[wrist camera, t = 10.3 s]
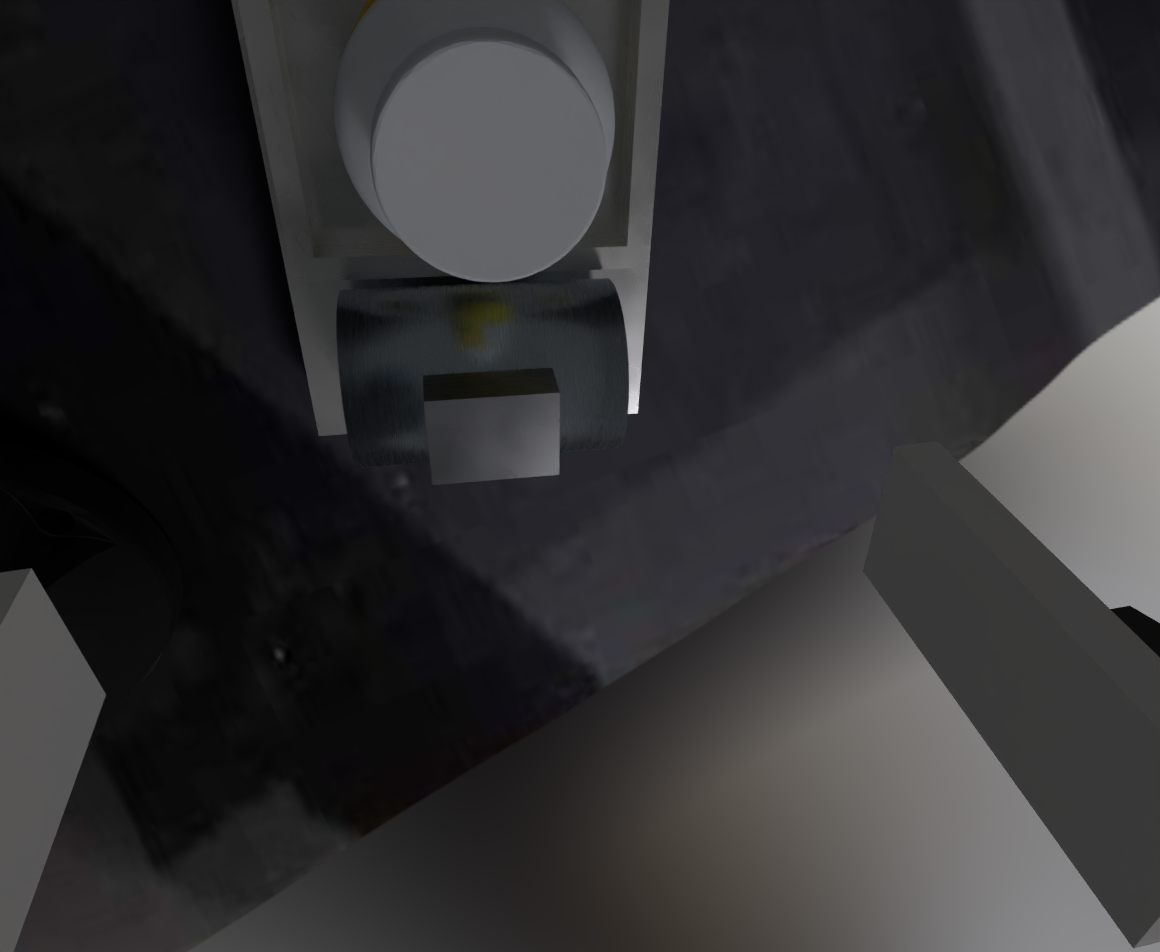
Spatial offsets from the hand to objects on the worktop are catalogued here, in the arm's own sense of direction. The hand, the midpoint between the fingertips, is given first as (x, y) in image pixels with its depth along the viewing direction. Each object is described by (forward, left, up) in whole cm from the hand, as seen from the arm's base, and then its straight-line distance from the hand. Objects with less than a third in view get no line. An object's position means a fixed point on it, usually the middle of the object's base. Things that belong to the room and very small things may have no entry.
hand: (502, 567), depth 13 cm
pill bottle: (+1, +4, -19) cm, 19 cm away
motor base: (+1, +1, -21) cm, 21 cm away
